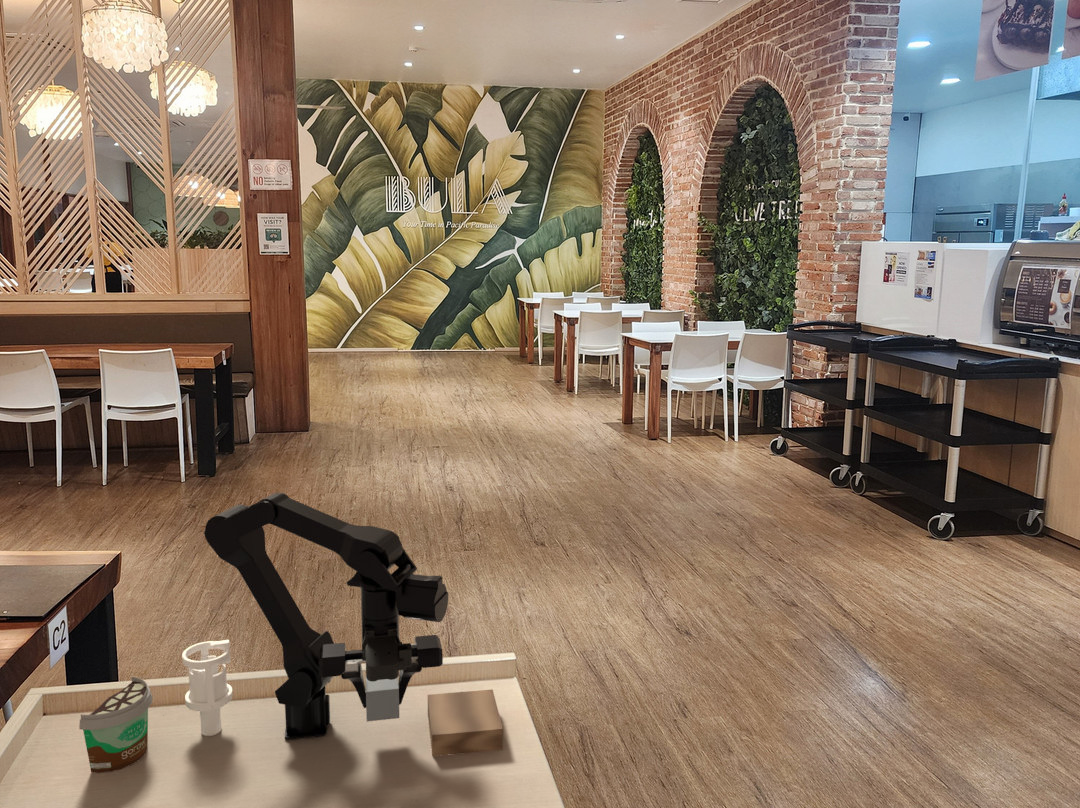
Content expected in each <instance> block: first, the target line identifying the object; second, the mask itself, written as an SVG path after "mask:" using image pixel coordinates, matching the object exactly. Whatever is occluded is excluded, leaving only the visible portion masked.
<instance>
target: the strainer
mask: <svg viewBox="0 0 1080 808" xmlns="http://www.w3.org/2000/svg"><path fill="white" fill-rule="evenodd" d="M211 649H214V650H221V651H222V654H221V655H219V656H217V655H209V654H210V652H209V650H211ZM198 652H200V654H201V655H200V660H193V659H190V658H189V657H190V656H191V655H193V654H194V653H198ZM181 653H182V654H181V658H182V659H181V660H182V665H183V666H185V667H187V668H188V670H187V671H188V681H189V682H188V683H189V684H188V685H189V690H188V691H187V692H186V693H185V696H184V698H185V699H184V700H185V701H184V702H185V706H186V708H187V709H189V710H191V711H195V712H199V718H200V732H201V735H202V736H205V737H211V736H215V735H218V734H219V733H221V731H222V718H221V708H222V707H224V706H226V705H227V704H229V703H230V702H231V700H232V699H233V696H234V695H233V686H231V685H230V684H229V683H228V680H227V666H226V664H231V661H232V660H231V645H230V640H229V639H223V640H219V641H217V640H210V641H203V642H202V641H201V642H198V643H195V644H193V645H191V646H189V647H187V648H186V649H185V650H183V652H181ZM219 665H222V667H223V669H222V670H221V671H220V672H219V670H218V669H219V668H218V667H219Z"/></svg>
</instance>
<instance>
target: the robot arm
mask: <svg viewBox="0 0 1080 808" xmlns="http://www.w3.org/2000/svg"><path fill="white" fill-rule="evenodd" d="M266 525H272V526H275V527H277V528H279V529H281V530H284V531H286V532H288V533H291V534H293V535H295V536H298V537H300V538H302V539H304V540H307V541H309V542H312V543H314V544H315V545H318V546H320V547H322V548H325V549H327V550H329V551H331V552H333V553H335V554H337V555H338V556H339V557H340V558H341V559H342V561H343V562H344V563H345V565H346V566H348V567H349V568H351V569H352V570H354V571H355V573H354V575H353V576H352V577H351V578H350V579H348V580H347V581H346V585H347V586H349V587H357V588H360V606H361V607H360V609H361V610H360V612H361V613H360V616H361V649H356V650H355V649H354V650H347V649H346V642H337V643H335V642H334V640H333V638H332V636H331V635H332V634H331V633H330V632H329V631H328V630H325V631H324V632H322V633H319V632H318V631H316V630H315V629H312V627H310V625H309V623H308V621H307V620H306V619H305V617H304V615H303V613H302V612H301V610H300V608H299V607H298V605H297V603H296V602H295V600H294V598H293V597H292V594H291V593H290V591H289V589H288V588H287V586H286V585H285V583H284V581H283V579H282V577H281V576H280V573H279V571H278V570H277V569H276V567H275V565H274V564H273V562H272V560H271V559H270V556H269V555H268V554H267V551H266V534H265V533H266V532H265V530H264V526H266ZM203 534H204V537H205V538H204V539H205V541H206V543H207V544H208V545H209V546H210V547H211V549H212V551H214V552H215V554H216V555H217V556H218V558H219V559H221V560H222V561H224V562H226V563H227V564H230V565H231V566H233V567H234V568H236V570H237V571H238V573H239V574H240V576H241V577H242V579H243V582H244V583H245V585H246V586H247V588H248V590H249V591H250V593H251V595H252V597H253V599H254V600H255V601H256V603H257V605H258V606H259V608H260V610H261V612H262V613H263V615H264V617H265V619H266V620H267V622H268V623H269V625H270V627H271V628H272V631H273V632H274V634H275V635H276V637H277V639H278V641H279V642H280V644H281V647H282V659H283V661H282V662H283V668H284V672H285V674H286V676H287V680H285V681H284V682H283V684H281V685H280V686H279V687H278V688H277V689H276V690H274V694H275V697H276V700H277V703H278V704H280V705H284V712H285V713H284V715H285V717H284V718H285V728H284V729H285V730H284V739H285V740H296V739H304V738H305V739H306V738H314V737H322V736H326V735H327V734H328V726H330V725H331V703H330V695H329V694H328V693H326V686H327V684H329V683H330V682H331V680H332V679H333V678H334V677H341V679H343V680H349V681H350V682H351V684H352V686H353V687H354V688H355V690H356V692H357V695H358V697H359V701H360V702H361V704H362V707H363V709H366V684H365V680H364V679H365V678H364V674H363V667H362V664H363V663H365V676H366V678H367V680H369V681H377V680H384V679H389V680H393V679H396V678H397V677H398V686H399V706H400V705H402V702H403V700H404V696H405V693H406V691H407V689H408V685H409V682H410V681H411V679H412V677H413V676H414V675H415V674H416V673H421V672H422V670H423V669H425V668H426V669H427V668H436V667H437V668H439V667H441V666H442V665H443V664H444V661H443V660H444V658H443V657H444V655H443V648H442V644H441V643H442V642H441V639H440V637H439V636H438V635H437V634H431V635H430V634H428V635H417V636H414V643H413V642H412V643H411V642H408V643H403V642H402V641H401V639H400V616H402V617H403V618H404V619H413V620H419V621H426V622H427V621H428V622H436V623H441V622H442V621H443V620H444V619H445V616H446V614H447V609H448V606H449V605H448V604H449V591H448V589H447V586H446V584H444V583H443V576H442V575H424V574H423V575H422V574H416V573H415V572H416V571H417V570H418V568H417V566H416V565H415V563H414V561H413V560H412V559H411V557H410V556H409V555H408V553H407V552H406V550H405V549H404V547H403V543H402V541H401V539H400V537H399V535H398V534H397V533H396V532H394V531H392V530H390V529H386V528H382V527H381V528H380V527H377V526H373V525H356V524H353V523H352V524H351V523H348V522H346V521H345V520H341V519H339V518H337V517H334V516H332V515H330V514H328V513H325V512H323V511H321V510H318V509H316V508H314V507H312V506H309V505H307V504H305V503H302V502H300V501H297V500H295V499H293V498H290V496H289V495H287V494H286V493H284V492H283V493H282V492H273V493H272V494H270V495H268V496H266V497H264V498H262V499H260V500H259V501H257V502H255V503H253V504H251V505H250V506H248V505H246V504H236V505H233V506H232V507H231V506H230V508H227V509H226V510H224V511H222V512H219V513H217V514H216V515H214V516H212V517H211V518H209V519H208V520H207V522H206V524H205V529H204V531H203ZM394 565H395V566H396V567H397V568H396V570H394V571H393V572H392V573H390V571H389V570H390V569H391V568H392V567H394ZM414 573H415V574H414Z"/></svg>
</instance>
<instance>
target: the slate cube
mask: <svg viewBox="0 0 1080 808" xmlns="http://www.w3.org/2000/svg"><path fill="white" fill-rule="evenodd" d="M364 679H365V680H364V683H365V691H366V708H365V709H366V710H365V711H366V713H365V714H366V722H374V721H375V722H377V721H385V720H394V719H400V705H399V686H398V683H399V676H398V677H397V678H396V679H393V680H389V679H384V680H377V681H369V680H367V678H366V675H365V678H364Z"/></svg>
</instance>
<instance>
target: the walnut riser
mask: <svg viewBox="0 0 1080 808" xmlns="http://www.w3.org/2000/svg"><path fill="white" fill-rule="evenodd" d="M496 701H497V700H496V696H495V694H494V690H493V689H492V688H491V689H482V690H481V689H480V690H468V691H457V692H448V693H447V692H445V693H433V694H427V721H429V722H428V729H429V730H428V731H429V738H430V739H431V740H430V739H429V740H430V748H431V749H432V750H431V755H432V756H433V757H441V756H440V755H444V756H449V755H448V754H454V755H461V754H462V753H463V754H472V753H482V752H484V753H485V752H492V751H503V748H504V743H503V742H504V741H503V740H504V739H503V738H504V728H503V725H502V724H503V723H502V720H501V716H500V713H499V709H498V705H497V702H496ZM432 756H431V757H432Z"/></svg>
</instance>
